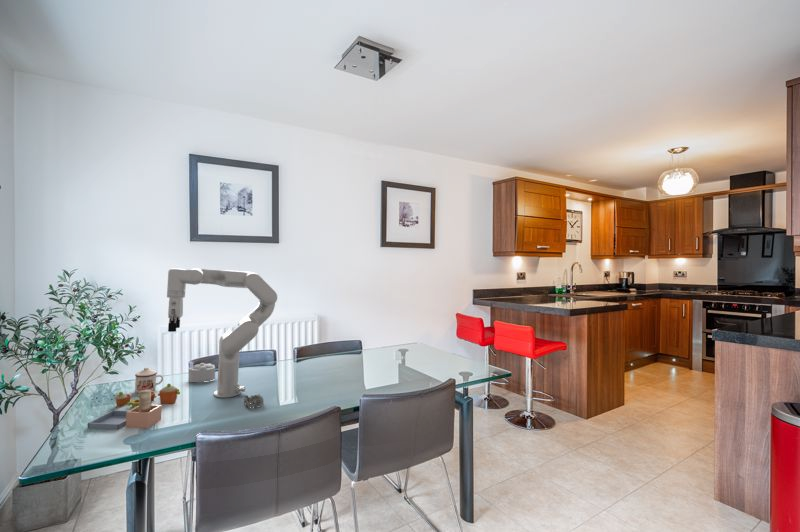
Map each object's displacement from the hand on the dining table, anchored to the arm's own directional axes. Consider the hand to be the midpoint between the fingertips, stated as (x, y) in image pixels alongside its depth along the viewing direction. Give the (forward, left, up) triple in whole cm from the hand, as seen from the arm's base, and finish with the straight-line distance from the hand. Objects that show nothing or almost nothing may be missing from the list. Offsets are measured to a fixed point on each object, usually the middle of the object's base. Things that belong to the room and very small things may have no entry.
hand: (174, 329), depth 180 cm
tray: (+6, +28, -34) cm, 44 cm away
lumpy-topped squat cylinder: (+1, -30, -34) cm, 45 cm away
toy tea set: (+7, +6, -35) cm, 36 cm away
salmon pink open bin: (-6, +28, -34) cm, 44 cm away
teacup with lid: (+18, -11, -34) cm, 40 cm away
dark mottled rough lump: (-40, +1, -34) cm, 53 cm away
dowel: (-6, +28, -33) cm, 44 cm away
